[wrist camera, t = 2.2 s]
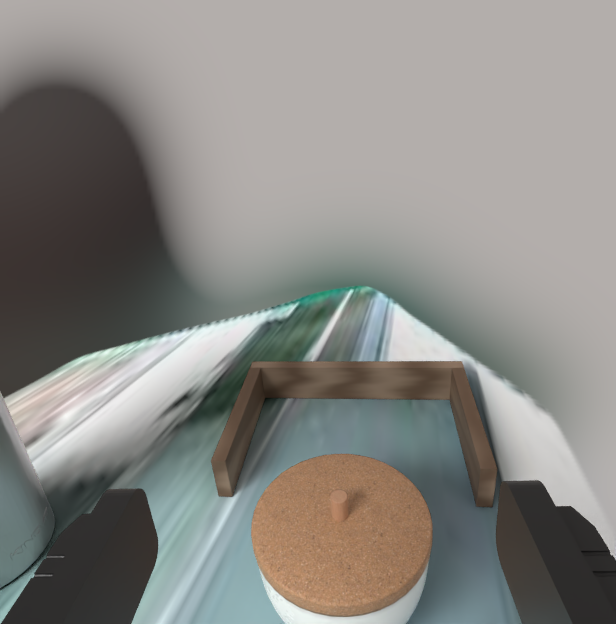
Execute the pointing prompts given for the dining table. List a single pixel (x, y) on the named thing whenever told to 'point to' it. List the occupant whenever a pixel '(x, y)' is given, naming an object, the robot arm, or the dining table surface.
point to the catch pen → (357, 385)
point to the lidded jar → (342, 542)
